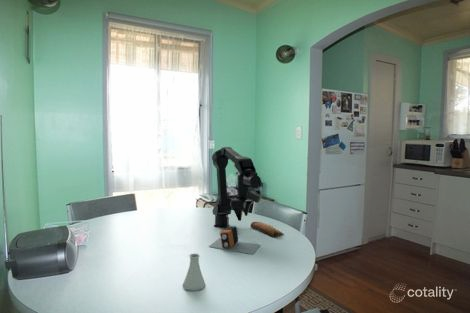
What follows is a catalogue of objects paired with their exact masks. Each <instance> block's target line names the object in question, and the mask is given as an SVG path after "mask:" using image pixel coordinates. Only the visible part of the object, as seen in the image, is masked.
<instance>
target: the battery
mask: <svg viewBox="0 0 470 313" xmlns="http://www.w3.org/2000/svg"><path fill="white" fill-rule="evenodd" d="M219 234H220V238H221V242H222V248H231V247H232V246H233V245H234V244H235V243H237V242H238V241H239V235H238V234H239V233H238V229H237V226H227V227H225V228H224V229H223V230H221V231H220V232H219Z"/></svg>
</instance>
